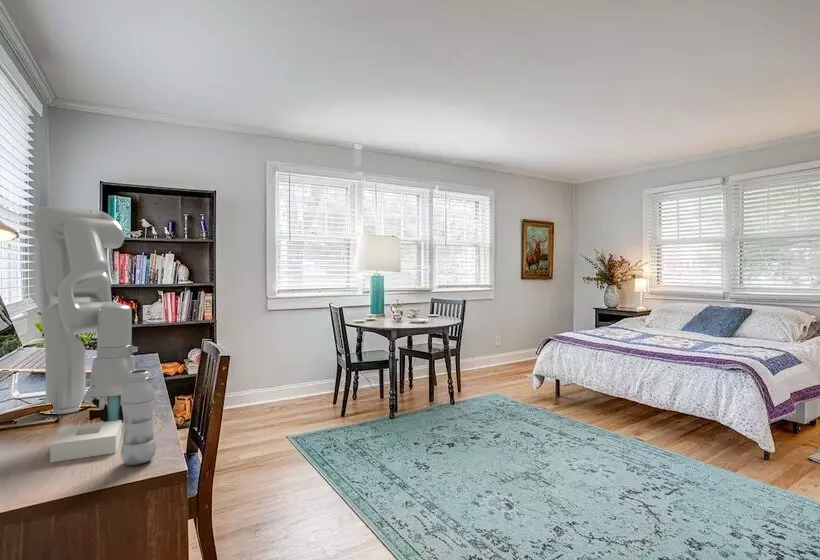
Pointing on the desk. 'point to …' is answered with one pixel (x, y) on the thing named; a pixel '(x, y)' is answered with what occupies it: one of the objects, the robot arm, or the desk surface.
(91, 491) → the desk surface
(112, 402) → the peg
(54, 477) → the desk surface
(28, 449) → the desk surface
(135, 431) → the plastic bottle
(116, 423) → the hole block
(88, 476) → the desk surface
